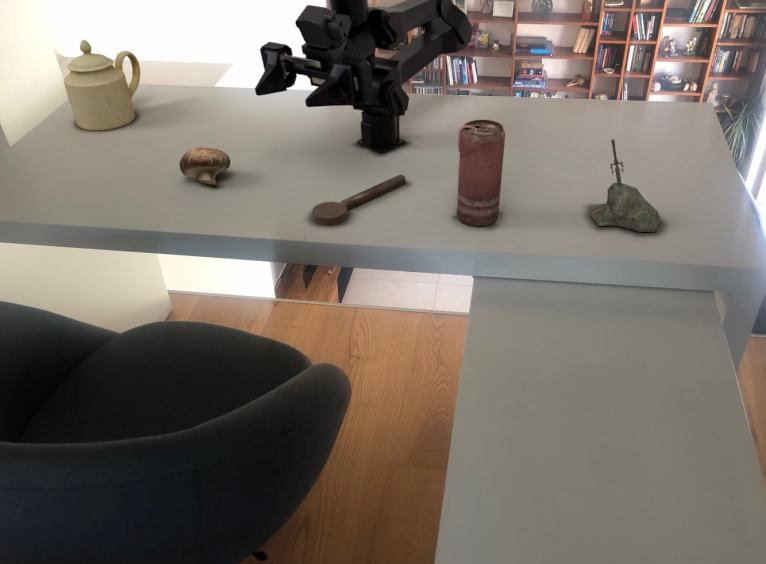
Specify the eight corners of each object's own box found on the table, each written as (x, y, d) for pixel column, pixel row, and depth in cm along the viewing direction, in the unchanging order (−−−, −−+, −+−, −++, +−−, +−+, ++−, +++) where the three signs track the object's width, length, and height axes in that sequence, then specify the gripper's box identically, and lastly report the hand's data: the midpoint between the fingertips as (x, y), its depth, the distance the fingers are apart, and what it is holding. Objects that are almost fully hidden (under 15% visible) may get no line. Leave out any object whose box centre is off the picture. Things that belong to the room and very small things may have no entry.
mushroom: (214, 177, 108) (205, 138, 107) (175, 192, 111) (165, 153, 110) (244, 181, 115) (235, 144, 114) (206, 194, 118) (197, 158, 118)
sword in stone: (660, 210, 104) (680, 133, 97) (660, 236, 98) (681, 156, 91) (592, 202, 106) (606, 126, 99) (588, 227, 101) (602, 148, 93)
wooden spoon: (393, 177, 114) (392, 168, 113) (415, 187, 111) (415, 178, 110) (305, 217, 104) (304, 207, 103) (328, 229, 101) (327, 219, 100)
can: (452, 209, 105) (455, 119, 97) (493, 207, 106) (500, 116, 97) (458, 229, 101) (462, 136, 92) (501, 226, 101) (510, 133, 92)
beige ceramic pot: (99, 102, 143) (77, 25, 134) (151, 103, 143) (132, 25, 133) (66, 130, 132) (39, 48, 122) (122, 131, 131) (99, 48, 122)
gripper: (285, -9, 105) (217, 31, 96) (389, 5, 97) (324, 50, 89) (299, 63, 113) (237, 106, 104) (396, 82, 105) (337, 130, 97)
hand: (281, 97), depth 98 cm, fingers open, 9 cm apart
